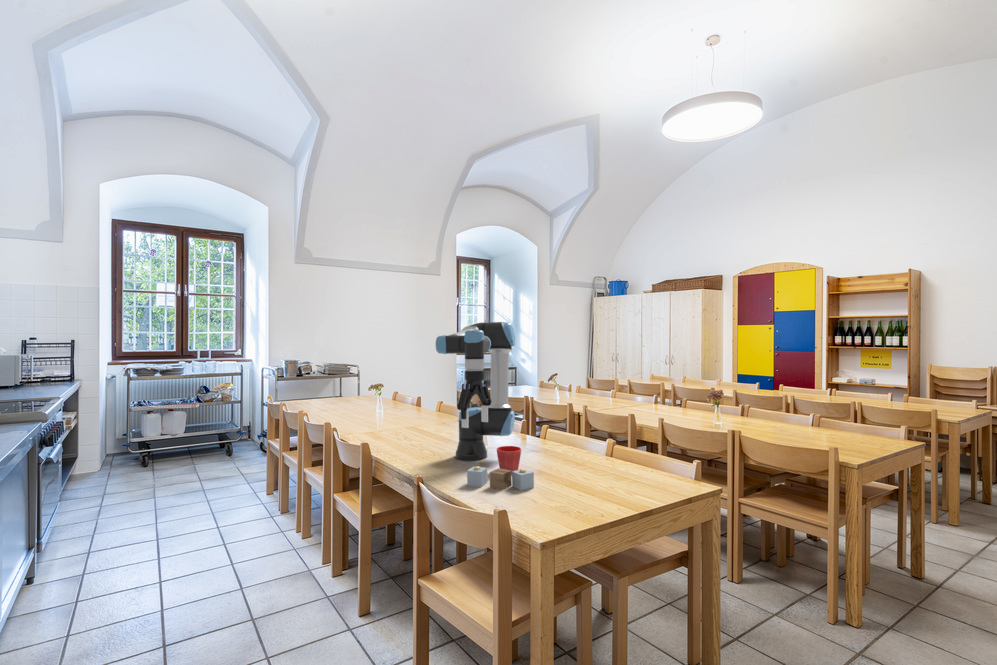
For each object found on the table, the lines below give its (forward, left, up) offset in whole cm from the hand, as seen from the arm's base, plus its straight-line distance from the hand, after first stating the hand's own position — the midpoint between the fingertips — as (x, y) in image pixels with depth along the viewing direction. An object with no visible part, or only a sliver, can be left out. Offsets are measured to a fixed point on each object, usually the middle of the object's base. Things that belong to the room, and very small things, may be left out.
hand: (475, 424), depth 194 cm
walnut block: (-7, +7, -24) cm, 26 cm away
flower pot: (-25, -5, -24) cm, 35 cm away
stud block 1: (-3, -2, -24) cm, 24 cm away
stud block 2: (-12, +14, -24) cm, 30 cm away
